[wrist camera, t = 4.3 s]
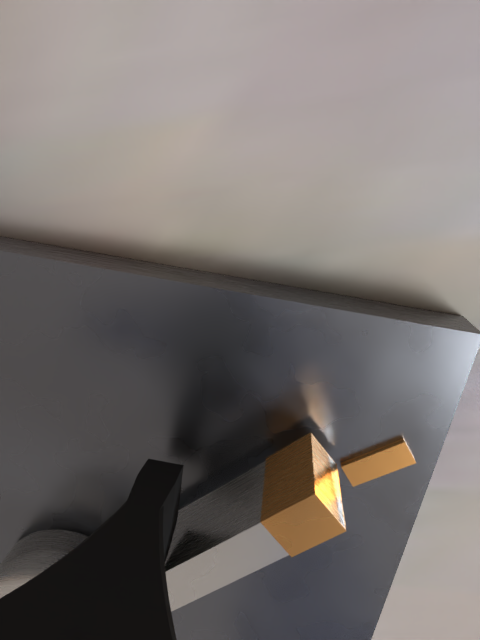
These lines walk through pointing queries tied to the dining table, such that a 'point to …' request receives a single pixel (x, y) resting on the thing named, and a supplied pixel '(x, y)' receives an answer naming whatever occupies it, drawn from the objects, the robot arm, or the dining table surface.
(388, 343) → the grey flat square slab
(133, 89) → the dining table surface
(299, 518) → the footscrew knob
